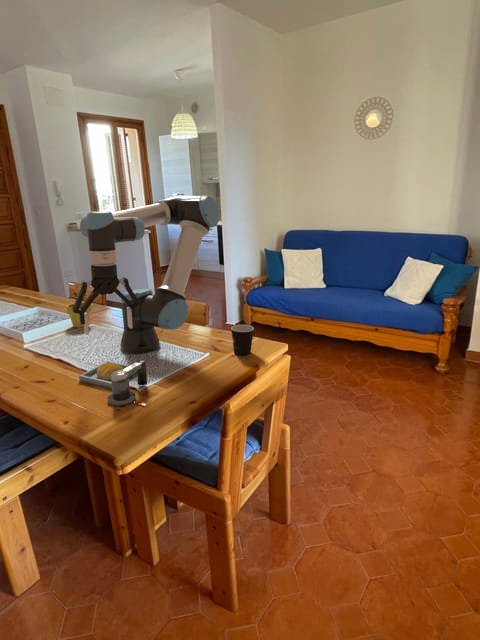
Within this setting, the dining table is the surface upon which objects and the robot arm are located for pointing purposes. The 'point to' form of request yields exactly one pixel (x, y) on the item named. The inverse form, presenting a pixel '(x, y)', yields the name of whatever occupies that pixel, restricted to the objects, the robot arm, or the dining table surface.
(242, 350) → the coffee mug
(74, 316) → the plant pot
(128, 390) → the crank hub
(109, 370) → the bread roll
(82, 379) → the tray
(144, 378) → the crank
